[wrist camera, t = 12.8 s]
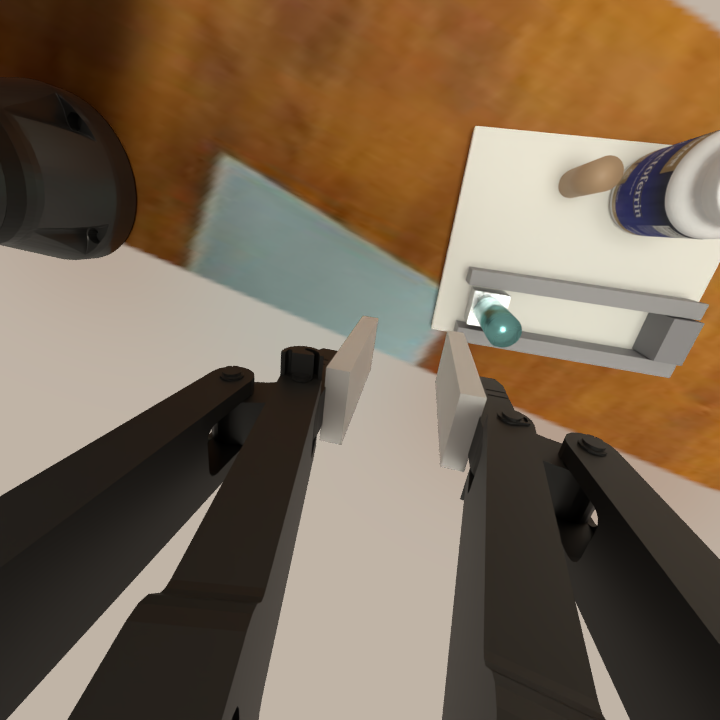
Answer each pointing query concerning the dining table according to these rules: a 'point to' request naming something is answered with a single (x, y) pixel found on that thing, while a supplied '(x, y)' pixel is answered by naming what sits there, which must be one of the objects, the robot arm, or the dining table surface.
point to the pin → (493, 316)
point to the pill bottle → (672, 191)
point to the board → (570, 255)
